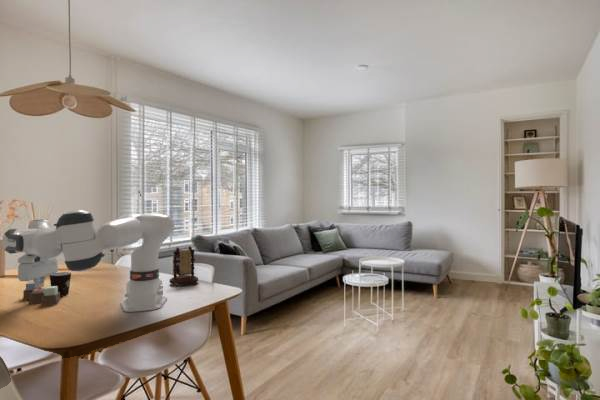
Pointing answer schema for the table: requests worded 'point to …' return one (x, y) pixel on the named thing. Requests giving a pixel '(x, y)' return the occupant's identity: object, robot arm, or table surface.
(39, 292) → the terracotta cap
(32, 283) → the slate cap
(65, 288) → the coffee mug
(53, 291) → the sage cap
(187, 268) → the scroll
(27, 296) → the slate housing
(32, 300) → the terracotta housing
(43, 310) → the table surface
